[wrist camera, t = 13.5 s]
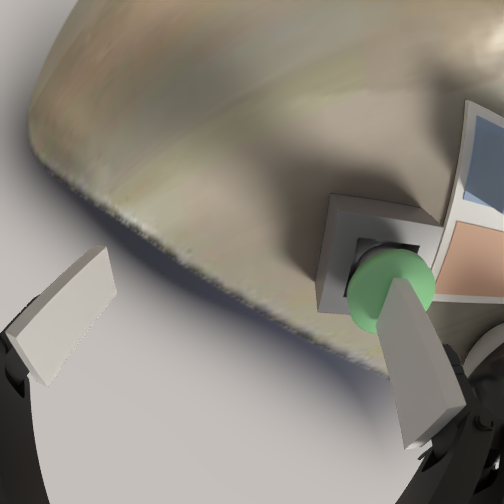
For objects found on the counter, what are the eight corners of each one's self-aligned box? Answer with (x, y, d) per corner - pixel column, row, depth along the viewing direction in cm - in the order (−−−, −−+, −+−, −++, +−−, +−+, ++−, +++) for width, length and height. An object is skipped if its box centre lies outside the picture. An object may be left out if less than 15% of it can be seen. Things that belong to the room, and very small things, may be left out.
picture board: (465, 100, 11) (469, 100, 10) (553, 151, 10) (556, 152, 9) (417, 297, 17) (420, 301, 17) (506, 301, 16) (509, 304, 16)
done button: (350, 225, 13) (362, 252, 11) (425, 236, 13) (448, 262, 10) (333, 297, 15) (339, 332, 13) (401, 302, 15) (415, 334, 12)
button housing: (330, 193, 15) (338, 211, 12) (422, 208, 15) (443, 227, 12) (314, 282, 18) (317, 312, 15) (397, 289, 17) (410, 317, 15)
